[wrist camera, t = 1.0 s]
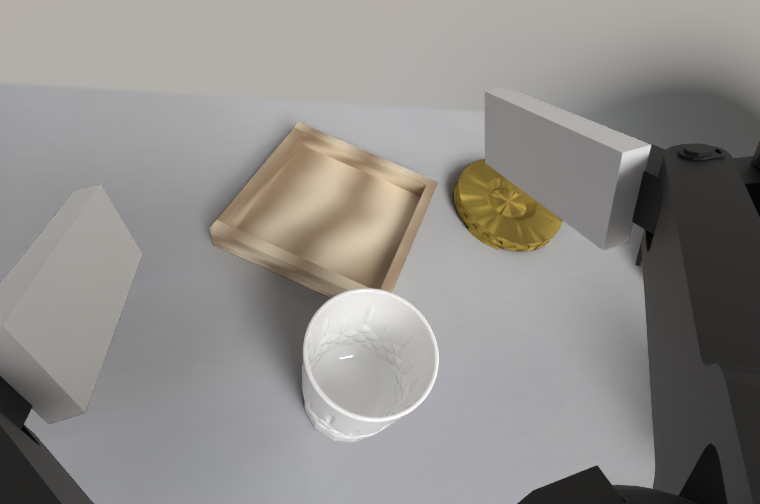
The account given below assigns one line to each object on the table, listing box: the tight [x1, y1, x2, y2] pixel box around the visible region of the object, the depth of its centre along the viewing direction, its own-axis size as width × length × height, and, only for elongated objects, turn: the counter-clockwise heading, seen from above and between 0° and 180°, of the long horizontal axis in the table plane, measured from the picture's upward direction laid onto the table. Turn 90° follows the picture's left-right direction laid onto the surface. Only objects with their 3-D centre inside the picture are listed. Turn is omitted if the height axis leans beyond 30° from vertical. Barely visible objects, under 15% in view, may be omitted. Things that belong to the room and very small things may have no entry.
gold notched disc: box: [453, 159, 562, 252], centre depth 46 cm, size 12×12×2 cm
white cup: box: [302, 288, 439, 443], centre depth 28 cm, size 8×8×10 cm
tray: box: [210, 122, 438, 298], centre depth 40 cm, size 16×16×2 cm
